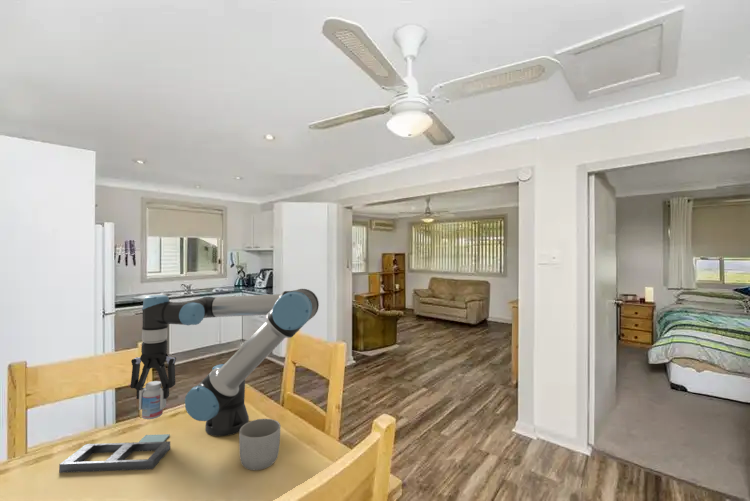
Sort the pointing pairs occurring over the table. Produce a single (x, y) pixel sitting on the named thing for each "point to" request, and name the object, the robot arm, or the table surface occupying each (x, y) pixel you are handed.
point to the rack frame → (114, 457)
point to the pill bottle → (151, 401)
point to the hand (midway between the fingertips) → (152, 407)
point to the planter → (259, 443)
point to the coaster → (155, 438)
